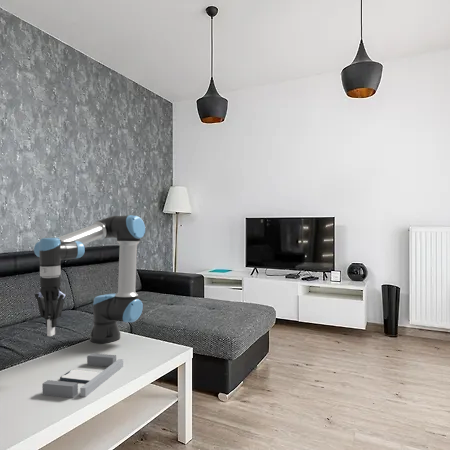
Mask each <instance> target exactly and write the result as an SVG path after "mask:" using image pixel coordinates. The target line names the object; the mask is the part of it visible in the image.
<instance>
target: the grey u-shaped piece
mask: <svg viewBox="0 0 450 450" xmlns="http://www.w3.org/2000/svg"><path fill="white" fill-rule="evenodd" d="M86 364H87V366H95V367H106V368H105V369H103V370H102V371H100V372H101V373H100V374H98V375H97V376H96V377H94V378H93V379H92V380H90V381H89V382H88V383H84V384H83V385H82V386H81V387H80V389H79V385H78V384H79V383H78V382H67V381H60V380H50V379H49V380H48V379H47V380H45V381H44V382H43V383H42V396H49V397H50V396H52V397H61V398H72V399H73V398H75V397H76V396H77V395H78V394H79V393H80V395H79V396H80V397H82V398H86V397H87V396H88V395H91V393H92V392H93V391H95V390H96V389H97V388H99V387H100V386H101V385H102V384H103V383H105V382H106V381H108V380H109V379H110V378H111V377H112V376H114V374H116V373H117V372H118V371H120V370H121V369H122V368H123V367H124V359H121V358H119V359H117V355H116V354H108V353H107V354H105V353H104V354H103V353H89V354H87V356H86ZM79 390H80V391H79Z"/></svg>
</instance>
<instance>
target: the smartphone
mask: <svg viewBox="0 0 450 450" xmlns="http://www.w3.org/2000/svg"><path fill="white" fill-rule="evenodd" d="M101 372H102V371H93V370H92V371H91V370H86V369H85V370H83V369H82V370H81V369H75V368H73V369H70V370H69V371H67V372H65V373H64V374H62V375H61V376H60V377H59V381H64V382H75V383H78V384H79V383H80V384H86V383H88V382H89V381H90V380H92V379H93V378H94V377H96V376H97V375H98V374H100V373H101Z"/></svg>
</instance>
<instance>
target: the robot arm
mask: <svg viewBox="0 0 450 450" xmlns="http://www.w3.org/2000/svg"><path fill="white" fill-rule="evenodd" d="M145 234H146V226H145V222H144V221H143V218H141V217H140V216H138V215H131V214H130V215H112V216H108V217H105V218H103V219H100V220H97V221H95V222H93V223H92V224H91V225H88V226H86V227H83V228H81V229H77V230H75V231H72V232H68V233H66V234H64V235H60V236H58V237H42V238H41V239H40V240H39V241H37V242H36V243H35V245H34V247H33V252H34V255H36V257H37V258H39V276H40V278H39V286H40V290H39V292H37V293H35V294H34V297H35V299H36V300H37V306H38V310H39V314H40V318H41V319H42V318H43V319H45V327H46V332H47V333H46V334H47V337H52V336H53V337H54V335H56V327H57V319H58V318H60V317H62V313H63V307H64V304H65V299H66V297H67V293H63V292H62V289H61V284H62V281H61V278H62V277H61V273H62V272H61V269H62V268H61V265H62V264H61V261H64V260H65V261H66V260H73V259H74V260H76V259H80V258H81V257H83V256H84V255H85V250H86V249H85V245H86V244H89V243H92V242H94V241H96V240H101V241H102V240H104V239H110V238H112V239H116V242H117V243H118V245H119V253H118V254H119V256H118V257H119V259H118V280H117V281H118V285H117V287H118V288H117V292H116V293H106V294H102V295H97V296H95V297H94V298H93V304H92V307H93V308H92V309H93V311H92V312H93V313H92V314H93V327H92V329H91V332H90V336H89V339H90V340H89V341H90V342H92V343H94V344H95V343H96V344H108V343H113V342H117V341H119V340H120V339H121V331H120V328H119V326H118V322H123V323H135V322H136V321H137V320H138V319H139V318H140V317H141V315H142V313H143V310H144V309H143V307H144V304H143V302H142V300H141V299H139V294H138V293H137V292H136V283H137V258H138V257H137V255H138V253H137V251H138V250H137V249H138V244H139V243H140V242H141V238H144V235H145Z"/></svg>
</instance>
